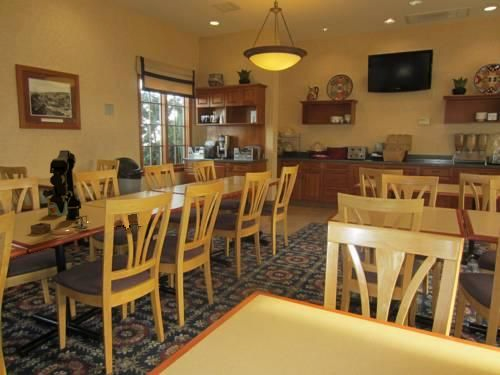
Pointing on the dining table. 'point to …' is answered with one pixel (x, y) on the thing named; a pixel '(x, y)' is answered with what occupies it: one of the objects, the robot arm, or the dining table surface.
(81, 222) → the balance
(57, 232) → the dish
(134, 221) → the stone cup
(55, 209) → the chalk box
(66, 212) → the block
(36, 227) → the sleeve
